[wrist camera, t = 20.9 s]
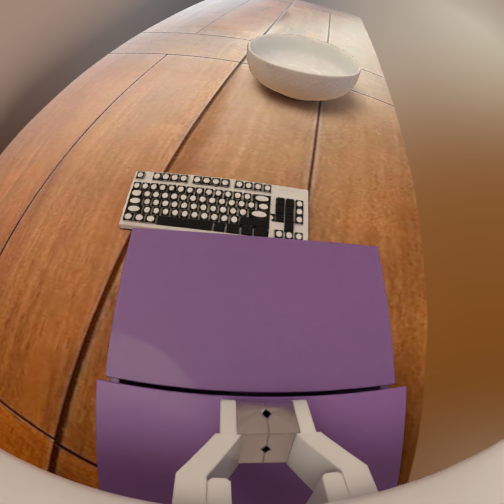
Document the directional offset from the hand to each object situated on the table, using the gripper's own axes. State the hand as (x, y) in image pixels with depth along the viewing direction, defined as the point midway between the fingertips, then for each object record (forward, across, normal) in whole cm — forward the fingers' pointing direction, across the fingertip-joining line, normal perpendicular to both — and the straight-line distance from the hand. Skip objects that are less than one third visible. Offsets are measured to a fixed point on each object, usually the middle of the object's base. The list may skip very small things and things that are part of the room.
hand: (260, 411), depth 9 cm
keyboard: (+20, -3, +4) cm, 21 cm away
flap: (-1, 0, -3) cm, 3 cm away
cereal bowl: (+38, +7, +22) cm, 45 cm away
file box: (+9, 0, -8) cm, 12 cm away
